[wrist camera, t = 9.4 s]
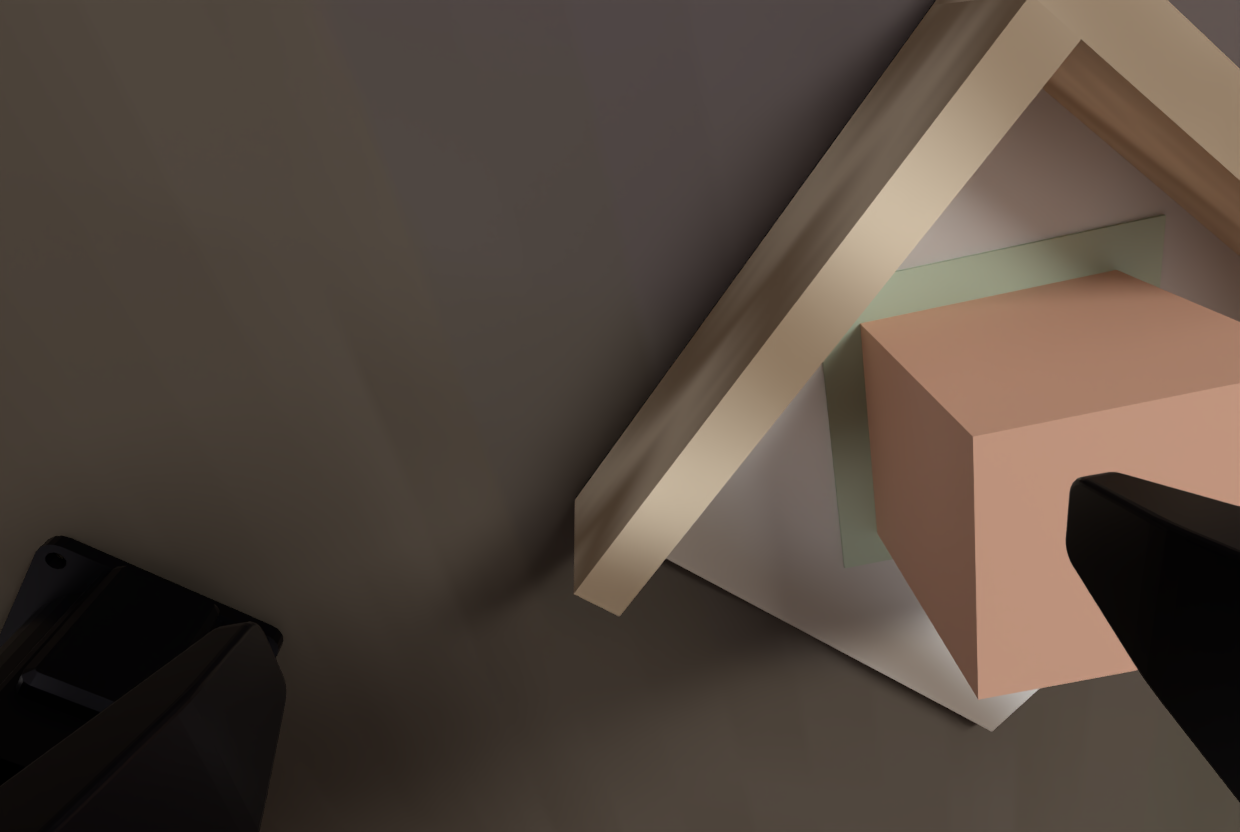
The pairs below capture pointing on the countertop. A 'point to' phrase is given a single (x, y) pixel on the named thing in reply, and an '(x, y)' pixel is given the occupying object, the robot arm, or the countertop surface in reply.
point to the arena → (916, 302)
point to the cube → (1037, 455)
